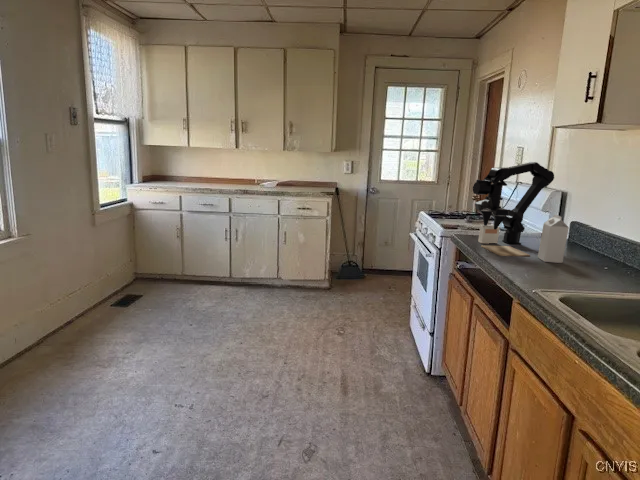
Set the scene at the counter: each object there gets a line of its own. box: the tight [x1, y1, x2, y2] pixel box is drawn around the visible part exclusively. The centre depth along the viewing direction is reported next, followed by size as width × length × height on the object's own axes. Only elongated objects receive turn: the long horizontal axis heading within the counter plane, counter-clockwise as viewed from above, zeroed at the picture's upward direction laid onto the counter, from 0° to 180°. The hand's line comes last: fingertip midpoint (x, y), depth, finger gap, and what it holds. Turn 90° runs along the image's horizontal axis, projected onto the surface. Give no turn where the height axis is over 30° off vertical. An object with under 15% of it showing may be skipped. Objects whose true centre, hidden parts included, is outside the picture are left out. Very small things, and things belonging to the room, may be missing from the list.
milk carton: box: [537, 213, 570, 264], centre depth 179 cm, size 7×7×19 cm
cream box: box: [477, 225, 500, 244], centre depth 208 cm, size 8×4×8 cm, turn 98°
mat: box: [480, 244, 531, 257], centre depth 193 cm, size 14×16×1 cm
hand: (490, 227), depth 208 cm, fingers open, 9 cm apart
